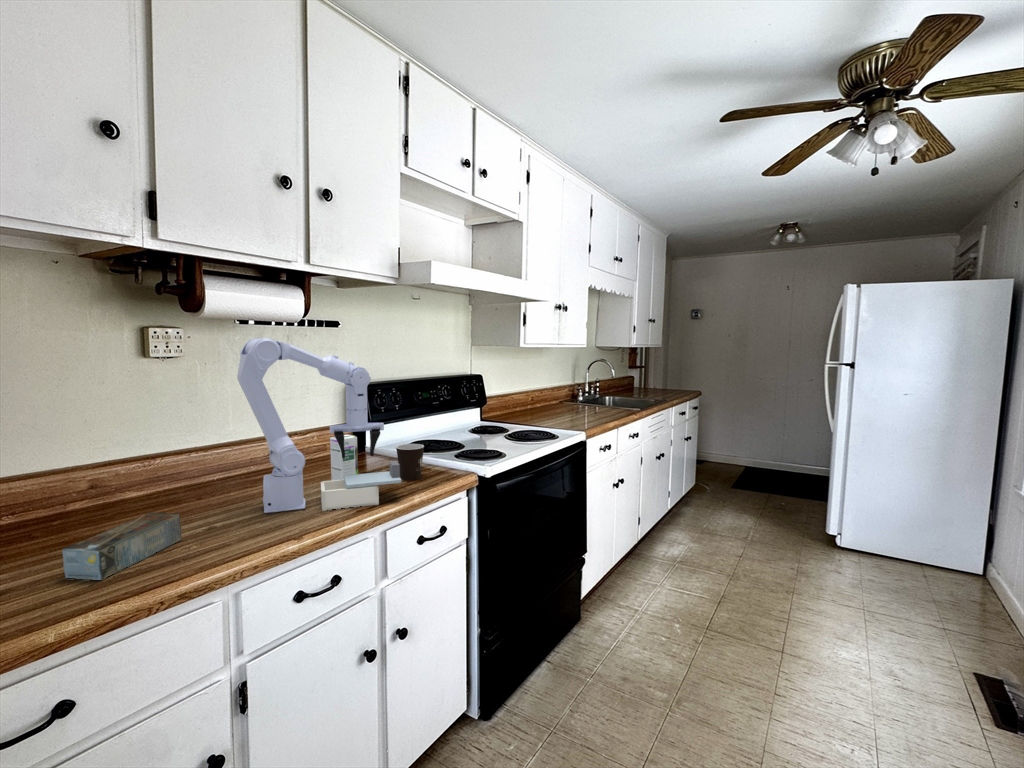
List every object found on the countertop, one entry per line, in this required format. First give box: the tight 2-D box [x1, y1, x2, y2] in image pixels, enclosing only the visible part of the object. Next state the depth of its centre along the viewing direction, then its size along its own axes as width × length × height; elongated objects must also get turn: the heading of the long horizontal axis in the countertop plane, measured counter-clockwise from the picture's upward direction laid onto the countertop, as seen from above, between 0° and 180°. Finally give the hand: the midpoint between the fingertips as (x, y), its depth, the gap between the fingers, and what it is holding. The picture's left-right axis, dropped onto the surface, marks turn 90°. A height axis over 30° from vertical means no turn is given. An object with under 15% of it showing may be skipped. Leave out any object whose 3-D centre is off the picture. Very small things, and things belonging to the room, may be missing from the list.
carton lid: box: [344, 460, 402, 488], centre depth 133 cm, size 14×10×4 cm
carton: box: [320, 479, 380, 512], centre depth 131 cm, size 14×10×5 cm
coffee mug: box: [395, 443, 425, 481], centre depth 157 cm, size 12×9×10 cm
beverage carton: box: [61, 512, 183, 581], centre depth 97 cm, size 8×19×7 cm, turn 173°
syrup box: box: [329, 434, 359, 481], centre depth 148 cm, size 6×6×14 cm
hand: (357, 456), depth 139 cm, fingers open, 7 cm apart
